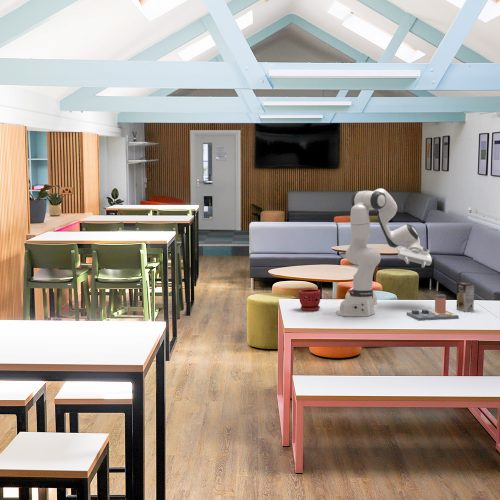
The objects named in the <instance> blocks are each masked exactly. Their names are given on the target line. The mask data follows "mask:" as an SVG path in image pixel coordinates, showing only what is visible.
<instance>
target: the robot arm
mask: <svg viewBox="0 0 500 500" xmlns="http://www.w3.org/2000/svg"><path fill="white" fill-rule="evenodd" d="M371 210H372V211H374V210H375V211H378V214H377V221H378V224H379V226H380V229H381V230H382V233H383V235H384V237H385V240H386V244H387V245H388V246H389V247H390V248H393V249H395V248H397V257H398V259H400V260H403V261H404V262H405V263H406V265H409V264H410V262H411V263H416V264H420V265H421V268H423V269H424V268H425V266H430V265H432V262H433V259H432V256H431V254H430V250H429V249H427V248H425V247H424V246H421V239H420V236H419V232H418V230H417V229H416V227H415V226H413V224H412V225H411V224H409V223H407V224H404V225H402V226H400V227H398V228H396V229H394V230H391V229H390V226H389V225H388V222H389V221H391V220H392V219H393V217H395V215H396V214H397V211H398V205H397V203H396V201H395V200H394V198H393V197H392V195H391V194H390V193H389V192H388V191H387V190H386V189H384V188H381V187H380V188H377V189H375V190H358V191H355V192H353V194H352V195H351V209H350V218H349V219H350V234H351V235H350V236H351V239H350V244H349V247H348V248H347V249H346V251H345V259H346V261H347V262H349V263H351V264H352V265H357V271H356V272H355V273H354V275H353V277H352V287H353V289H352V290H349V289H350V288H348V289H347V290H346V291H347V292H348V293H350V296H349V297H348V298H346V299H345V298H344V300H343V301H341V302H340V304H339V305H340V306H339V310H336V311H335V313H336V315H337V316H341V317H369V316H371V315H375V314H376V313H375V308H374V305H373V291H374V290H373V277H374V273H375V269H376V267H377V266H378V265H379V264H380V262H381V259H382V258H381V253H380V252H379V250H376V249H375V248H372V247H367V243H368V240H369V239H370V238H371V237H372V233H371V232H372V231H371V221H370V214H369V212H370V211H371ZM403 244H405V246H406V248H404V247H400V246H401V245H403Z"/></svg>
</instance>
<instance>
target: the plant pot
mask: <svg viewBox="0 0 500 500" xmlns="http://www.w3.org/2000/svg"><path fill="white" fill-rule="evenodd" d="M321 297H322V296H321V290H320V289H317V288H312V289H311V288H307V289H300V290H298V298H299V302H300V309H301V310H302V311H305V312H316V311H319V309H320V308H321V306H320V302H321Z"/></svg>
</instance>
